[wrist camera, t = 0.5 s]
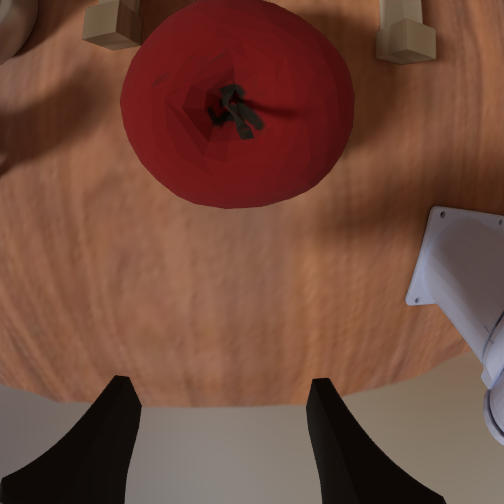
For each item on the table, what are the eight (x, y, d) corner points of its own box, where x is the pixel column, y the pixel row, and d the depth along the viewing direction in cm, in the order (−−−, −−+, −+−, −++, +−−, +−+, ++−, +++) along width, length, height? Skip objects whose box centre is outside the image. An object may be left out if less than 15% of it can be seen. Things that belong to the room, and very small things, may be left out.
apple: (344, 65, 14) (453, 33, 5) (287, 203, 18) (333, 305, 9) (189, 12, 12) (134, -78, 3) (138, 155, 16) (37, 214, 7)
